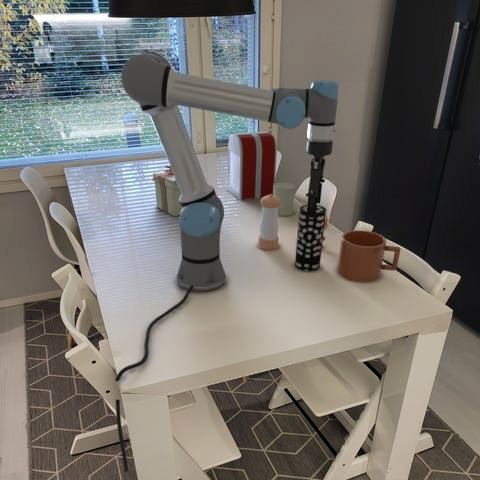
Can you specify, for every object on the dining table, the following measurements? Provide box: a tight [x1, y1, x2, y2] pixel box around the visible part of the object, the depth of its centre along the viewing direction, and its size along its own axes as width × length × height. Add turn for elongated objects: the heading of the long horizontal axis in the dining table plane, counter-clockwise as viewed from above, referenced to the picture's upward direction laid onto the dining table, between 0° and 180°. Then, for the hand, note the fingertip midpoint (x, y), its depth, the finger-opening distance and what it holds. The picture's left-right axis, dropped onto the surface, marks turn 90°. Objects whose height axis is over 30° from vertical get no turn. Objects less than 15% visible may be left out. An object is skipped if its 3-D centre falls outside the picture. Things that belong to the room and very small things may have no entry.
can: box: [273, 181, 296, 217], centre depth 204 cm, size 9×9×12 cm
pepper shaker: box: [257, 194, 281, 251], centre depth 172 cm, size 7×7×19 cm
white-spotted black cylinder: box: [294, 204, 327, 273], centre depth 158 cm, size 8×8×20 cm
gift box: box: [152, 165, 182, 217], centre depth 203 cm, size 17×18×17 cm
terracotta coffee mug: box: [336, 229, 402, 283], centre depth 156 cm, size 19×14×12 cm
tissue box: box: [227, 131, 278, 201], centre depth 222 cm, size 17×18×27 cm
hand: (313, 209), depth 153 cm, fingers open, 13 cm apart
